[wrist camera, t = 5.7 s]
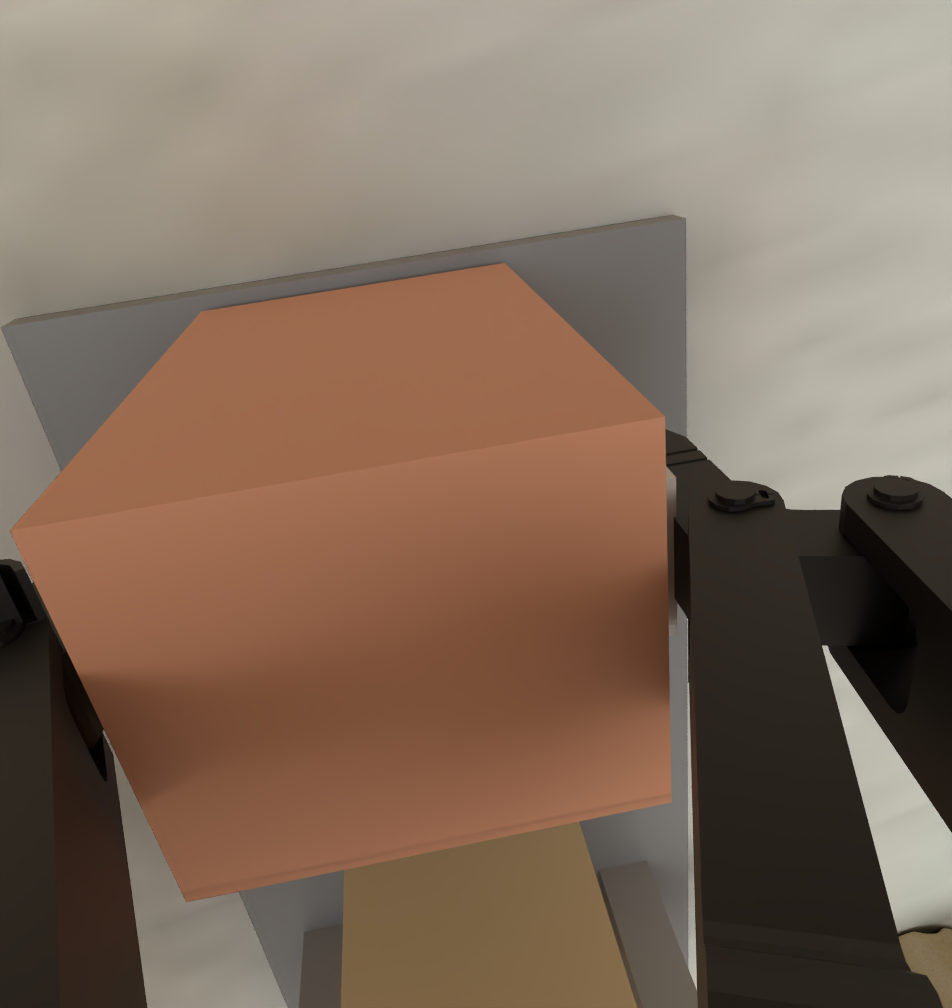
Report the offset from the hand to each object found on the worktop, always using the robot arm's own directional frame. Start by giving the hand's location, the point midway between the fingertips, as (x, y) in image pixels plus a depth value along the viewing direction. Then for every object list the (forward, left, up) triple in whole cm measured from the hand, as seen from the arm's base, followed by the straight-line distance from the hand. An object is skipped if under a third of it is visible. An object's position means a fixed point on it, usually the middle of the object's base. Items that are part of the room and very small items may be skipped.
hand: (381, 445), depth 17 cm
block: (0, 0, -2) cm, 2 cm away
